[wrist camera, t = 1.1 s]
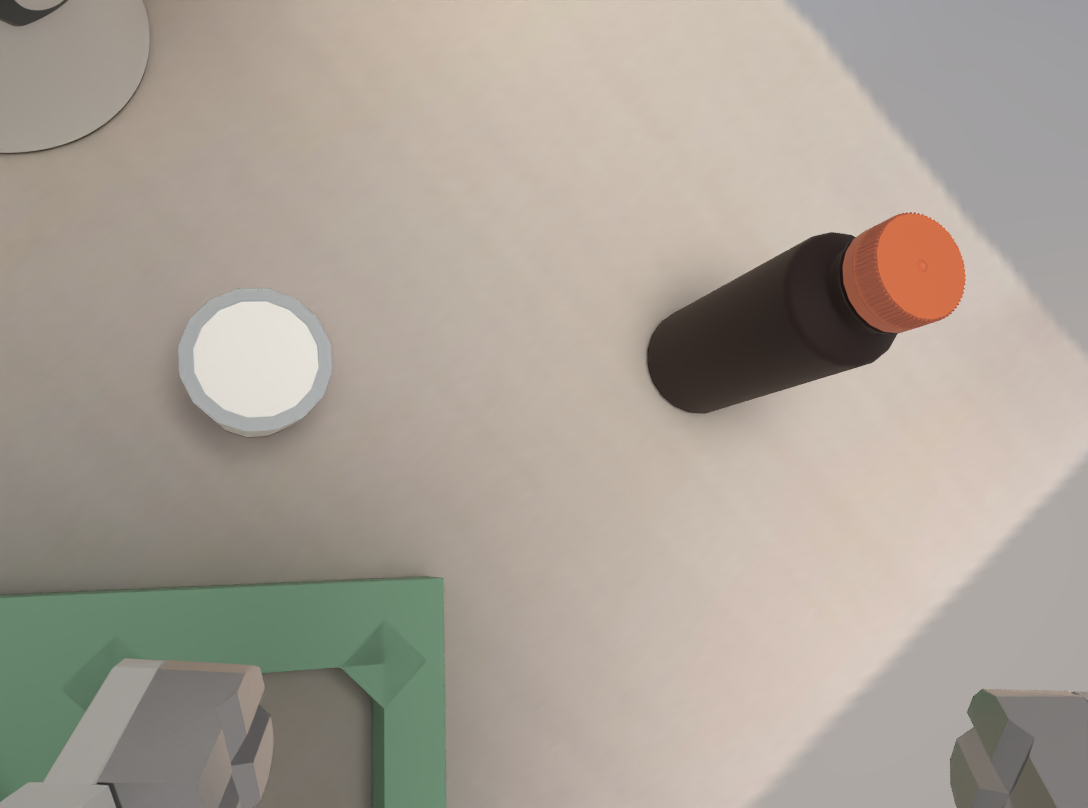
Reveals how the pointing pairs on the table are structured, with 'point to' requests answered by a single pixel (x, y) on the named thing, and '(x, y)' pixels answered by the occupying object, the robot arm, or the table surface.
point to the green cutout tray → (234, 662)
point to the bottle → (807, 314)
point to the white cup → (254, 360)
